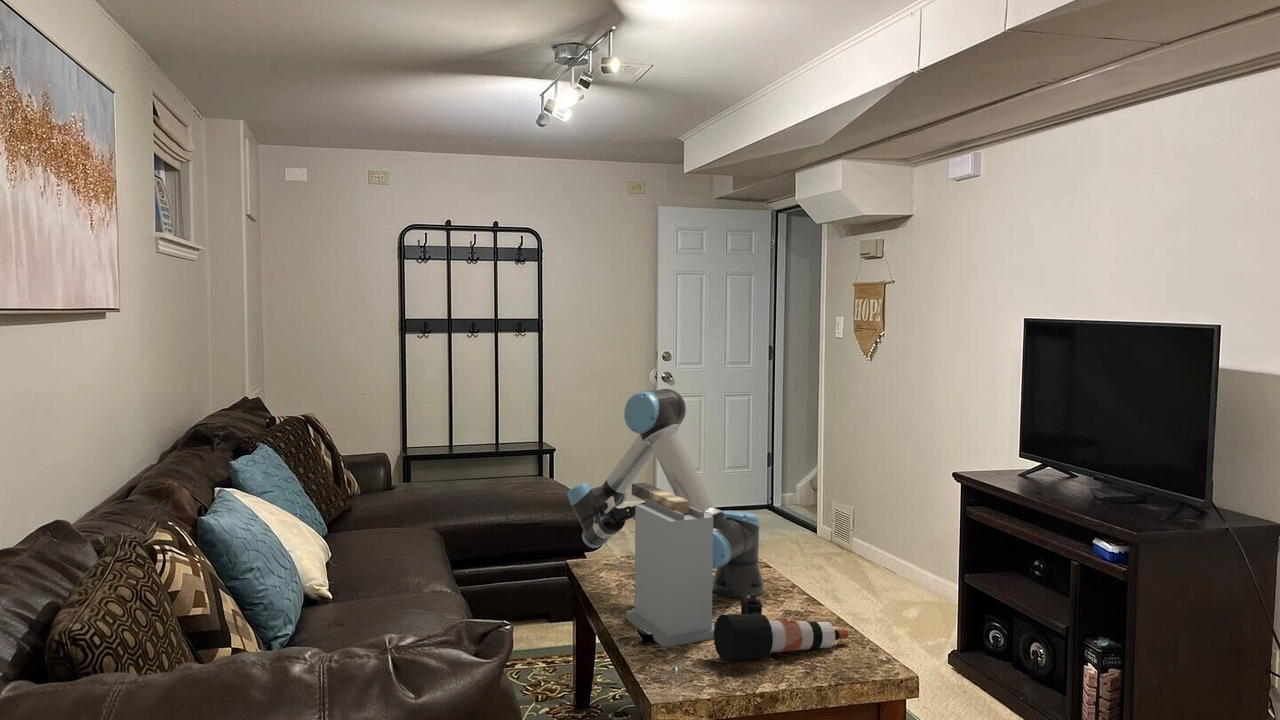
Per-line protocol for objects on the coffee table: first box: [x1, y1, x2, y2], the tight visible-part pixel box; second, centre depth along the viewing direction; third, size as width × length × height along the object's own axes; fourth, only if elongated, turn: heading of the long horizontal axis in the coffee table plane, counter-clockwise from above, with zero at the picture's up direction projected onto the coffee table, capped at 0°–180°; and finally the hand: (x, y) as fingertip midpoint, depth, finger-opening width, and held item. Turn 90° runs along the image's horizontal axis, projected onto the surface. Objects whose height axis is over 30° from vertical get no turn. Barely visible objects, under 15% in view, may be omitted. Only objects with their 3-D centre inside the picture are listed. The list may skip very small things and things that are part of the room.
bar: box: [631, 482, 690, 514], centre depth 230 cm, size 26×4×3 cm, turn 25°
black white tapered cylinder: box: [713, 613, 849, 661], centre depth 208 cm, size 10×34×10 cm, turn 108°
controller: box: [737, 592, 763, 615], centre depth 224 cm, size 4×12×10 cm, turn 6°
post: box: [625, 498, 715, 648], centre depth 223 cm, size 22×16×32 cm
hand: (635, 498), depth 242 cm, fingers open, 13 cm apart
